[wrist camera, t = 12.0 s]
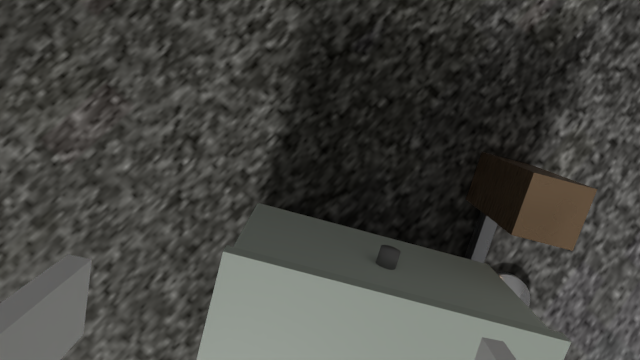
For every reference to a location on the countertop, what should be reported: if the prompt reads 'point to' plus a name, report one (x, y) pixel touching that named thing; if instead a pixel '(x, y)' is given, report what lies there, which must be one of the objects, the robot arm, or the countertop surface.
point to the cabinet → (359, 299)
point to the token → (516, 286)
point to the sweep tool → (525, 204)
